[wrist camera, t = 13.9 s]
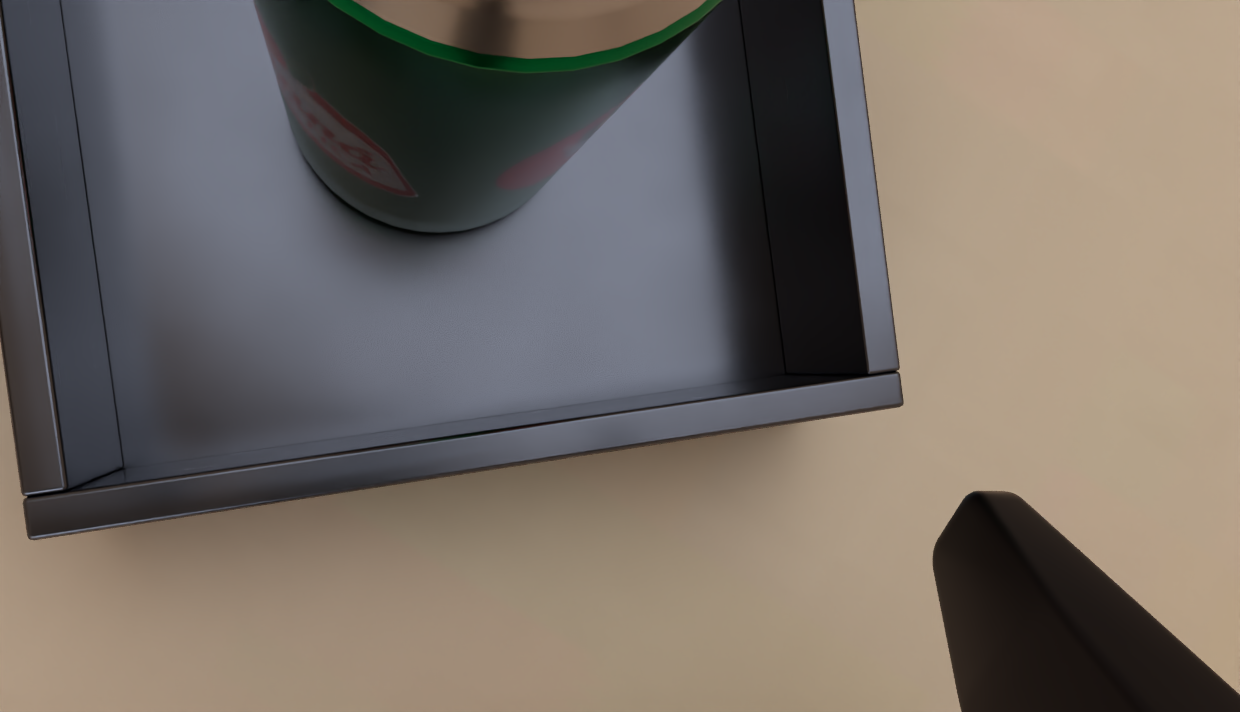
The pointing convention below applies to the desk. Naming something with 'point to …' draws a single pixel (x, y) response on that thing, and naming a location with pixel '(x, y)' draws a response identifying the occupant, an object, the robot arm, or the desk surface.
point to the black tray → (414, 271)
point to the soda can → (459, 93)
